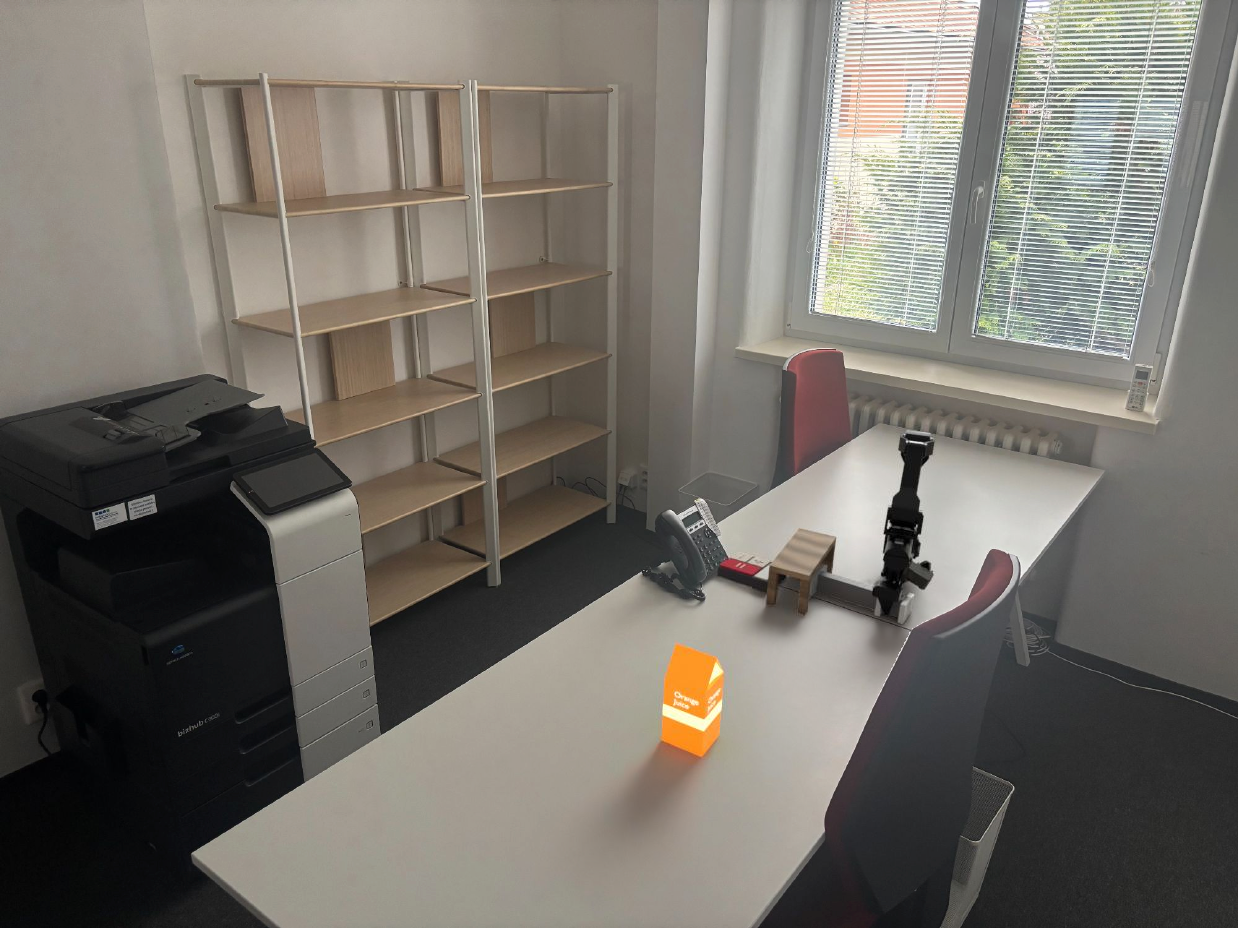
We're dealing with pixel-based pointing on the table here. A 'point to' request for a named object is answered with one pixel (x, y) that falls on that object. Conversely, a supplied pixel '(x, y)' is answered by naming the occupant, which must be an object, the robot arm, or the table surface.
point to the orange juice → (692, 700)
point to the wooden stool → (801, 563)
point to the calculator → (747, 571)
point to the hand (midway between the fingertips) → (889, 608)
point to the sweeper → (857, 593)
